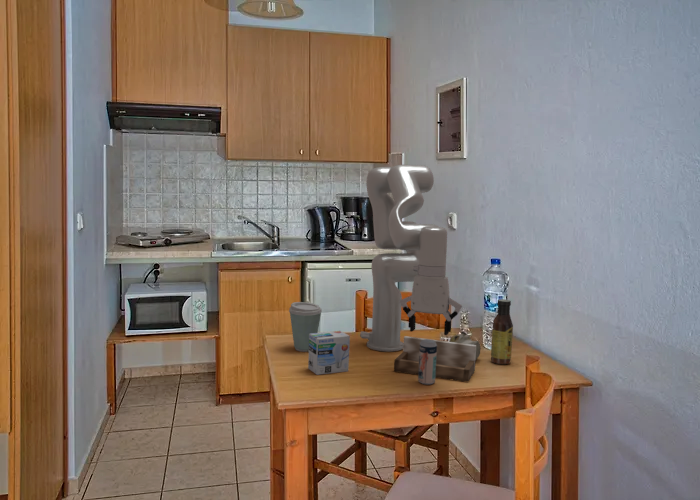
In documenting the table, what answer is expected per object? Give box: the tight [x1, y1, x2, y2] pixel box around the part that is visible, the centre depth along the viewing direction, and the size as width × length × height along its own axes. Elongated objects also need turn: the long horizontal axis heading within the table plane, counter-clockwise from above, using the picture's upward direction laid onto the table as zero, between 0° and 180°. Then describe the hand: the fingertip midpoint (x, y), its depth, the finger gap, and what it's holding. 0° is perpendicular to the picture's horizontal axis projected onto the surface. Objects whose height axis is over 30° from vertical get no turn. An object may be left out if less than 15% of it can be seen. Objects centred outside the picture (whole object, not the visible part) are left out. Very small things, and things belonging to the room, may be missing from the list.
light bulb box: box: [307, 330, 351, 376], centre depth 186 cm, size 11×7×11 cm, turn 117°
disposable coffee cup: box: [288, 301, 323, 353], centre depth 206 cm, size 11×11×15 cm
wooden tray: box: [393, 335, 477, 382], centre depth 189 cm, size 22×11×8 cm, turn 70°
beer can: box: [417, 338, 437, 386], centre depth 178 cm, size 5×5×12 cm
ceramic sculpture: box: [448, 331, 482, 361], centre depth 204 cm, size 11×9×15 cm
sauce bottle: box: [490, 298, 514, 365], centre depth 199 cm, size 7×6×20 cm
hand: (429, 332), depth 177 cm, fingers open, 9 cm apart
